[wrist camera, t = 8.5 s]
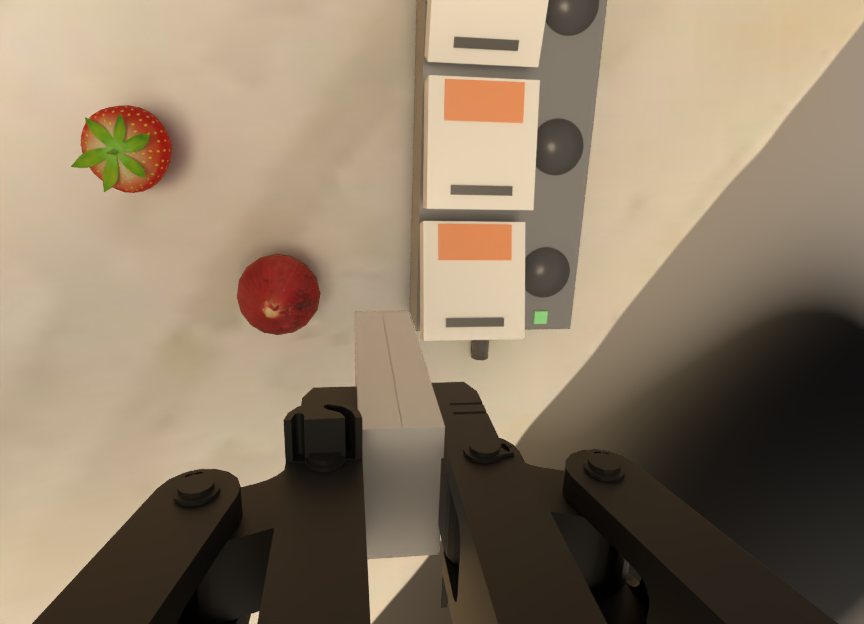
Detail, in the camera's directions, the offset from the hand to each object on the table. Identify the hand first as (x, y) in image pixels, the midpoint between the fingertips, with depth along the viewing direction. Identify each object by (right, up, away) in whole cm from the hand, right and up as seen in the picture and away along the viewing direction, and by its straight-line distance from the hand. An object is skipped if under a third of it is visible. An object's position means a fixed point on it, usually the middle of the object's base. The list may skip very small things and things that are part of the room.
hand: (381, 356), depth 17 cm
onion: (-10, +4, +30) cm, 32 cm away
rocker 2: (+4, +12, +22) cm, 26 cm away
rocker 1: (+5, +21, +18) cm, 28 cm away
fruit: (-19, +13, +26) cm, 34 cm away
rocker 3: (+4, +3, +24) cm, 25 cm away
